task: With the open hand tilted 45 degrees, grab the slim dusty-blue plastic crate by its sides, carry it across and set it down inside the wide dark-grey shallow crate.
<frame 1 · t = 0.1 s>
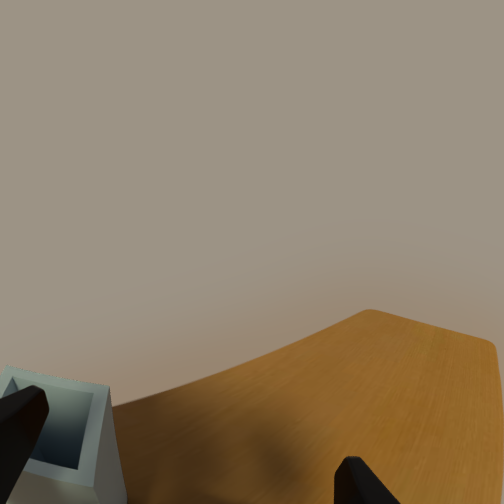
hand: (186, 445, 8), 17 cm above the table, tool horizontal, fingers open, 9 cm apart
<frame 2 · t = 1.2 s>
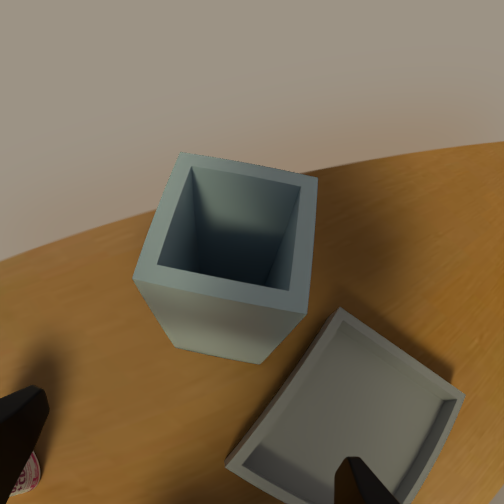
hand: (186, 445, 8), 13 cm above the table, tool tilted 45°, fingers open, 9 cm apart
slim crate: (225, 316, 23), on the table
pill bottle: (19, 462, 15), on the table
shallow crate: (352, 434, 20), on the table
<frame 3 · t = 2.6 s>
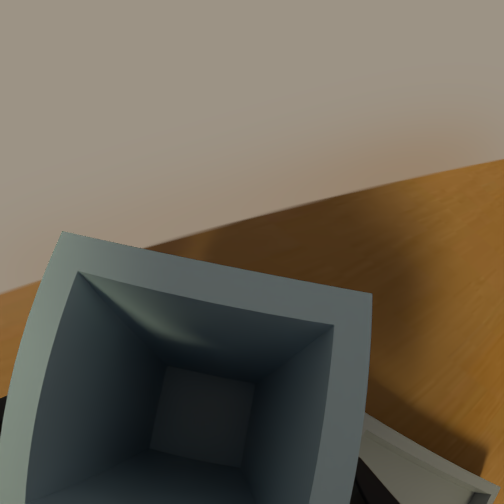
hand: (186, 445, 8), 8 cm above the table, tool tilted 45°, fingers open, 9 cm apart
slim crate: (203, 417, 15), on the table
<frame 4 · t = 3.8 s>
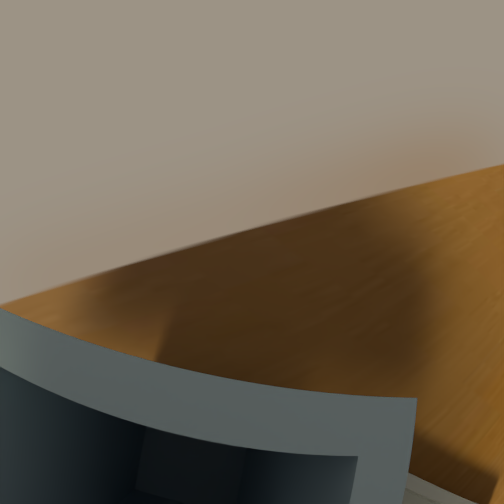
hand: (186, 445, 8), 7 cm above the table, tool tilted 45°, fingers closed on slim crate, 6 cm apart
slim crate: (193, 456, 13), on the table, touching gripper
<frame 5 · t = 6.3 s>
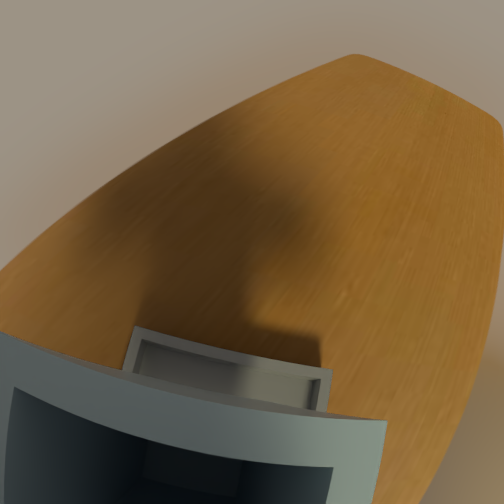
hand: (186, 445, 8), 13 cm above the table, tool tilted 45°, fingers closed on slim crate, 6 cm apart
slim crate: (196, 445, 14), point 6 cm above the table, touching gripper
shallow crate: (211, 445, 19), on the table
when the fingers open (9 cm above the table, at t = 7.9 s): slim crate stays where it is, resting on shallow crate.
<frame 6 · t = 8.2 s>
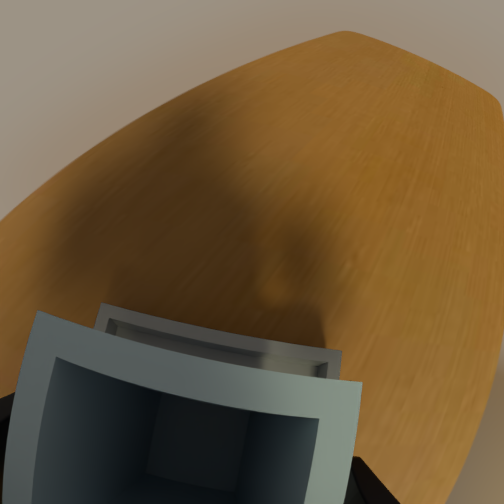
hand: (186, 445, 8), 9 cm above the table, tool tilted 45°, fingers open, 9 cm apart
slim crate: (198, 442, 15), point 1 cm above the table, touching shallow crate
shallow crate: (197, 448, 15), on the table
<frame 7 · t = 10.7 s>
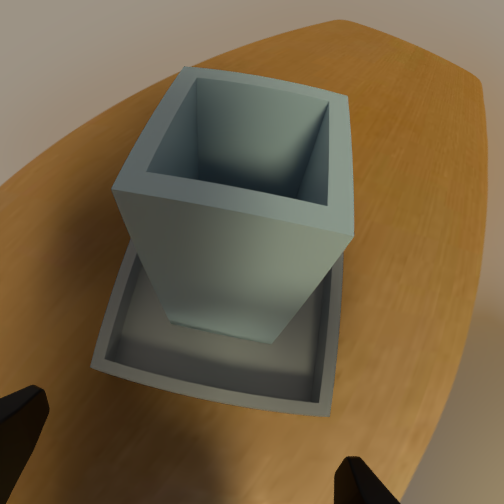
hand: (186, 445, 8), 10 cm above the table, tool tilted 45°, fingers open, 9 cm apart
slim crate: (230, 288, 20), point 1 cm above the table, touching shallow crate
shallow crate: (228, 298, 20), on the table
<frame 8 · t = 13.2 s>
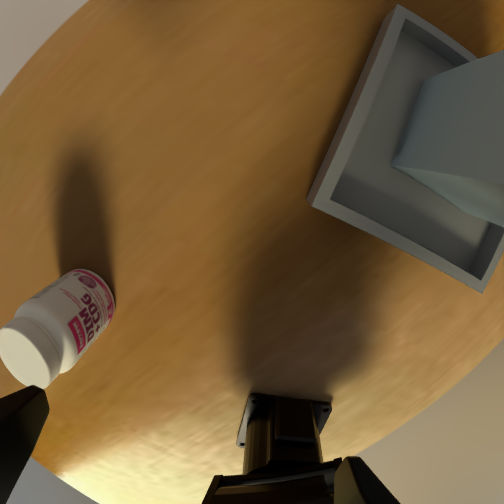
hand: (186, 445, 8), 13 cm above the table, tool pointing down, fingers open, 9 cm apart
slim crate: (446, 146, 16), point 1 cm above the table, touching shallow crate
pill bottle: (89, 296, 21), on the table
shallow crate: (438, 152, 17), on the table
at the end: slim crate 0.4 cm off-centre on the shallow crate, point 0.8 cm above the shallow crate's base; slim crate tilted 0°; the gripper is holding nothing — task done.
